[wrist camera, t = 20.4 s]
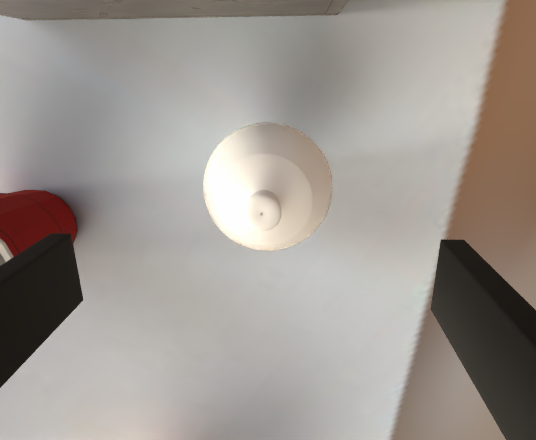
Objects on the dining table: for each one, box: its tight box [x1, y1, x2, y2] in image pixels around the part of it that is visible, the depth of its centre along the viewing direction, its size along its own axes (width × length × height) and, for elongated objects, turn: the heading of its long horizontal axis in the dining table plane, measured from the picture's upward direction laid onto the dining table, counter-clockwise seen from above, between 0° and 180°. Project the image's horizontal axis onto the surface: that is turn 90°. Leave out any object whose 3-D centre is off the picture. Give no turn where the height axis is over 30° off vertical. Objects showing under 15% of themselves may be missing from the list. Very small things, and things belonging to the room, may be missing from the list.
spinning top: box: [203, 123, 332, 251], centre depth 25 cm, size 8×8×12 cm
